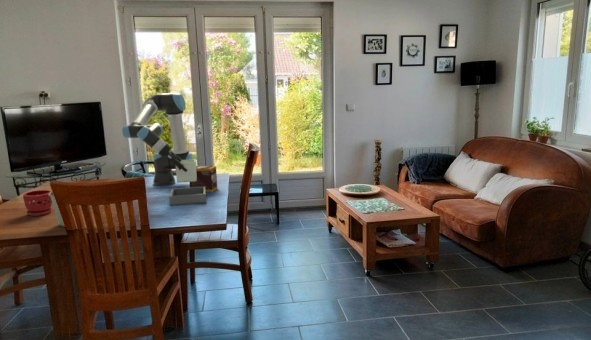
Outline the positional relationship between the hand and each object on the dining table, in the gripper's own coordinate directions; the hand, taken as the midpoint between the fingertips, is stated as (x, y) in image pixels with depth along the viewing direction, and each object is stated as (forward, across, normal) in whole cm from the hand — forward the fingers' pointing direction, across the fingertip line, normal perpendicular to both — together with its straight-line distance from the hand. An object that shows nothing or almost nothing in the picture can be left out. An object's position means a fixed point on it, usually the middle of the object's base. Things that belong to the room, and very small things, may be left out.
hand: (191, 173), depth 232 cm
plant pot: (-45, +4, -69) cm, 82 cm away
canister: (-28, +30, -52) cm, 66 cm away
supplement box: (+16, -25, -7) cm, 31 cm away
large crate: (+10, 0, -14) cm, 17 cm away
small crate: (+1, 0, -5) cm, 5 cm away
